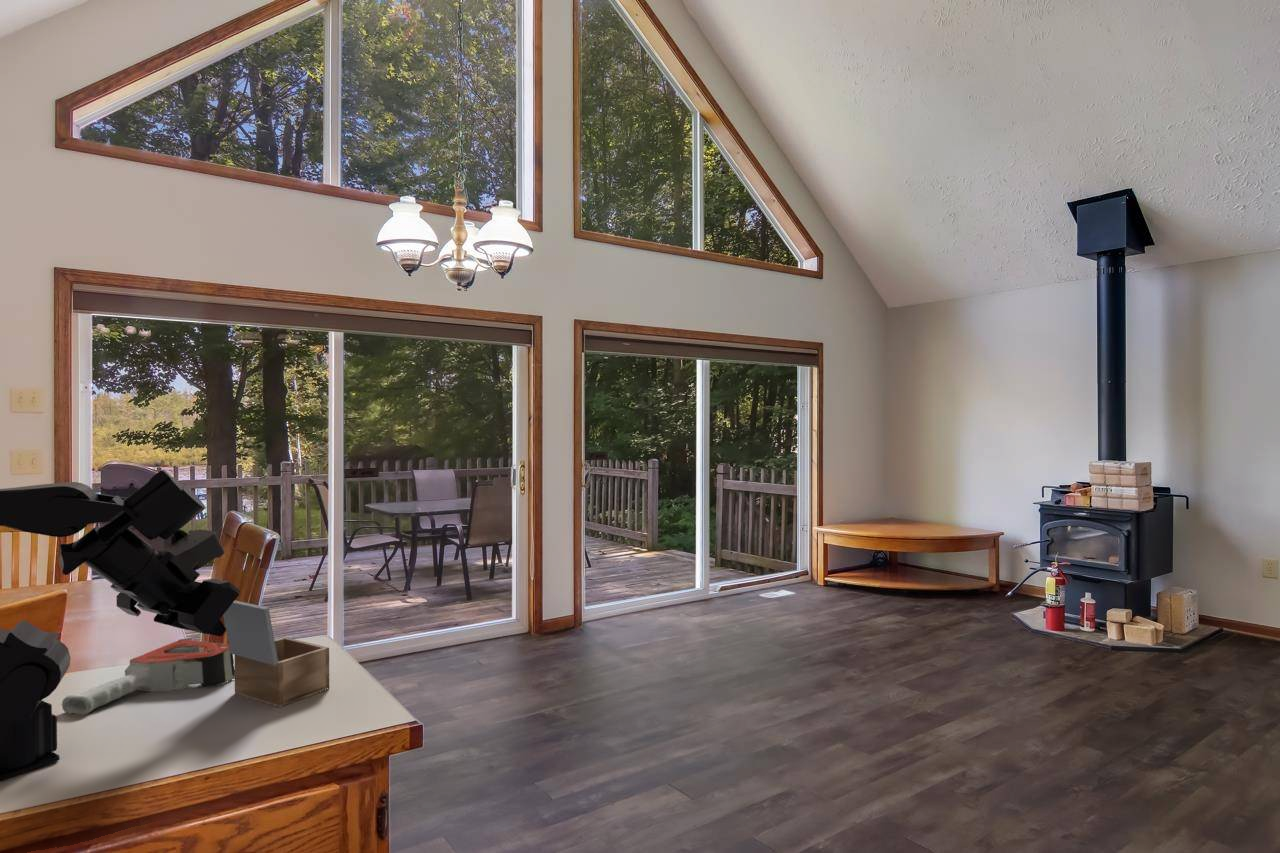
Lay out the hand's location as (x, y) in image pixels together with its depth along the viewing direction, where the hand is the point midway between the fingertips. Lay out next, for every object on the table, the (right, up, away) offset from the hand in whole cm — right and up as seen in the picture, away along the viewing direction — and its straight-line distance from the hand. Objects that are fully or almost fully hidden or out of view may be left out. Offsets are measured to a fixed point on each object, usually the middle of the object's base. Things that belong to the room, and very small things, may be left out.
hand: (222, 632), depth 103 cm
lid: (+2, -1, +4) cm, 4 cm away
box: (+4, -10, +8) cm, 14 cm away
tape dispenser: (-14, -11, +10) cm, 20 cm away
